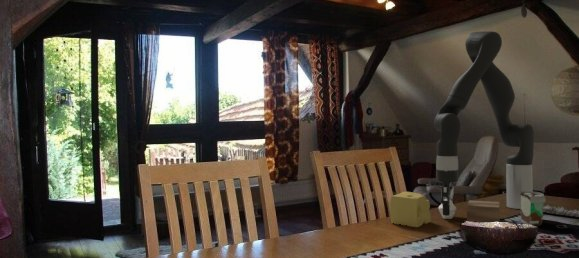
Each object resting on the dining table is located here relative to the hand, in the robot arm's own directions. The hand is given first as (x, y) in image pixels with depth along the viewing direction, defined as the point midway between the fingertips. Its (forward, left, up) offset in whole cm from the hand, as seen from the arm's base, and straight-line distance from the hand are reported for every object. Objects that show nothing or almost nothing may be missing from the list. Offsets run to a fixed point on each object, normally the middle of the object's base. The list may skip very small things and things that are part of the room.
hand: (447, 212), depth 159 cm
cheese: (+12, -11, -2) cm, 16 cm away
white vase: (0, 0, -2) cm, 2 cm away
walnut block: (0, +12, -2) cm, 12 cm away
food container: (-3, +28, -2) cm, 28 cm away
